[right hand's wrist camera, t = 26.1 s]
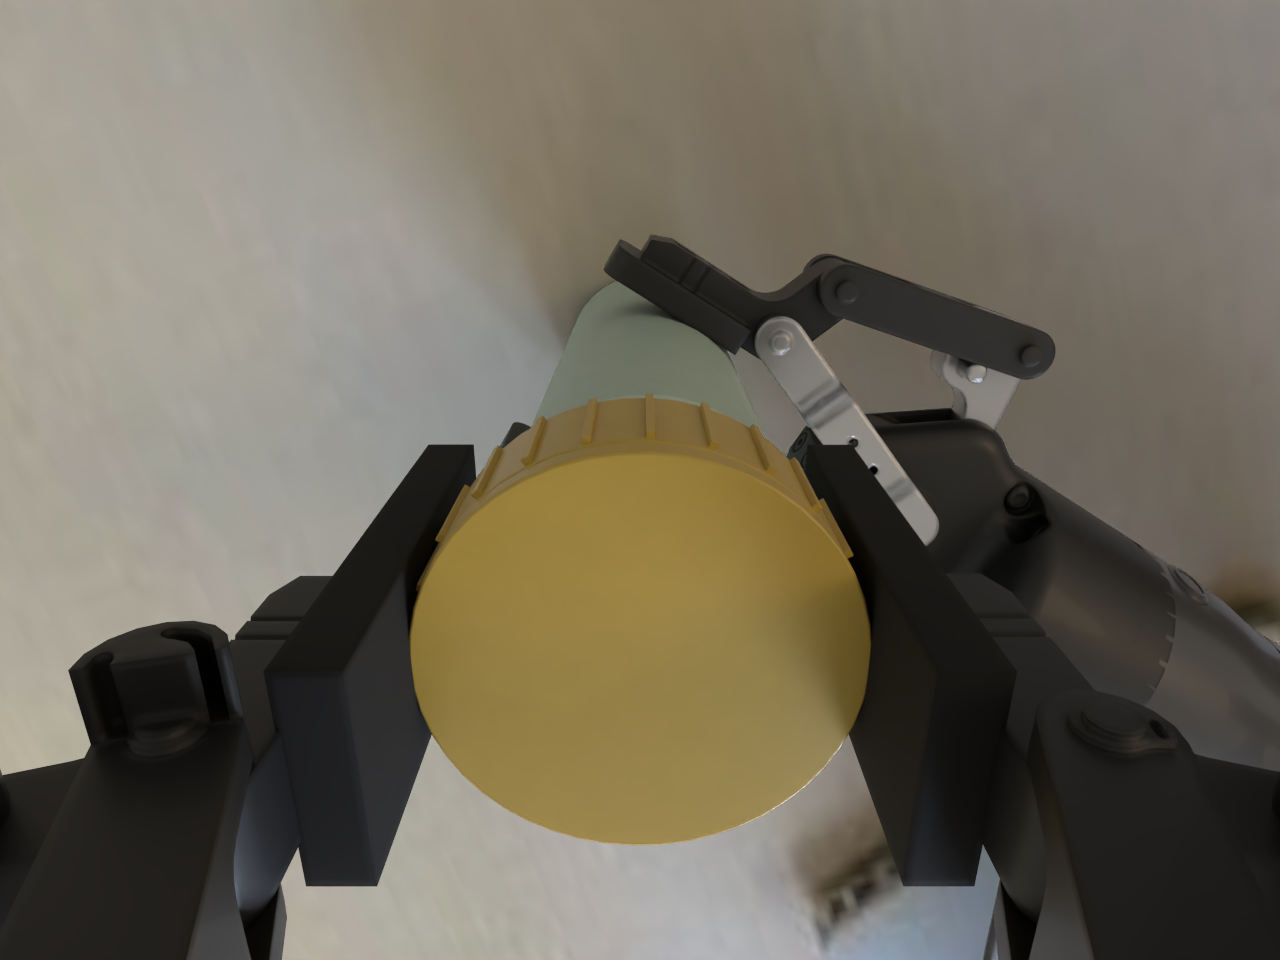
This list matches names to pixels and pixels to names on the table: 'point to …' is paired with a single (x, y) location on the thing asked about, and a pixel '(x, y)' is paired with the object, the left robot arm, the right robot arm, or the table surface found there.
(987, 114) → the table surface
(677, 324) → the jar
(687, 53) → the table surface
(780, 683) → the lid
